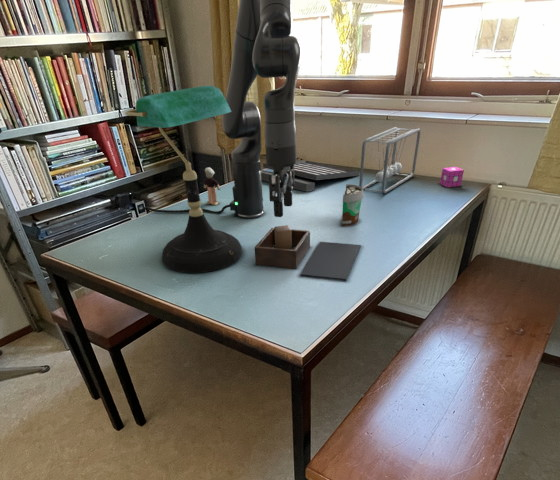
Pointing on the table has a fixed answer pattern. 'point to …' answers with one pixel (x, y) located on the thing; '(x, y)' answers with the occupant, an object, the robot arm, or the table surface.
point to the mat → (331, 261)
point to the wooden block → (283, 237)
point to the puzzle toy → (451, 177)
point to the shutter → (311, 173)
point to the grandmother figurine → (211, 186)
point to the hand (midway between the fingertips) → (283, 211)
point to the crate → (282, 250)
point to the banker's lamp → (190, 179)
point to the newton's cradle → (394, 167)
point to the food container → (351, 204)
